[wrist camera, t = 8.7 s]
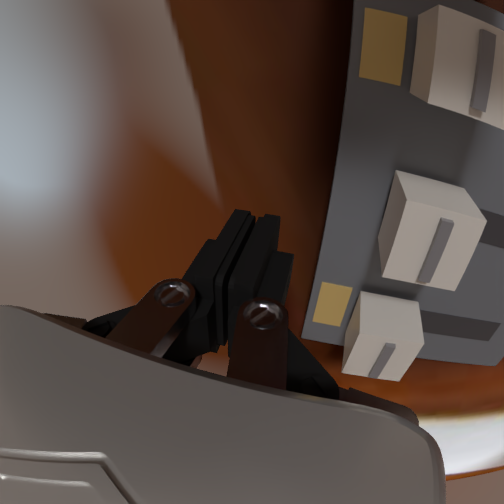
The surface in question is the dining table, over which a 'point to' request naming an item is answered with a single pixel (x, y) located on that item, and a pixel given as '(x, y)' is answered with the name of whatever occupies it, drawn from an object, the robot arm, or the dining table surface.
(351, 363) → the switch
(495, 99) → the switch
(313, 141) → the dining table surface
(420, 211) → the switch
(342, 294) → the switch unit
